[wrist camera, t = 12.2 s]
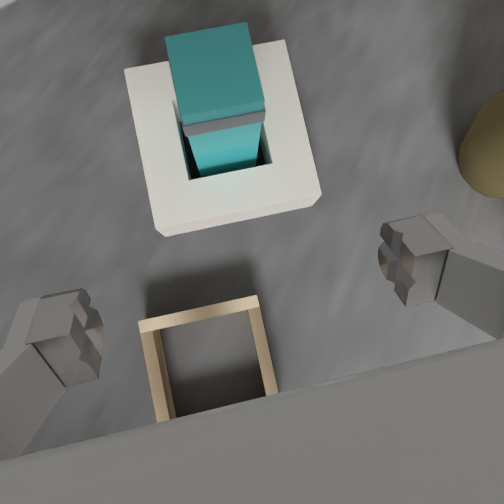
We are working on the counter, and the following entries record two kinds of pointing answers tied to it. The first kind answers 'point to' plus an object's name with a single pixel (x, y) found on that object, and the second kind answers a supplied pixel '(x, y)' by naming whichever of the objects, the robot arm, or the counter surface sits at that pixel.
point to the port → (231, 183)
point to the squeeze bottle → (485, 149)
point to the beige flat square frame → (152, 325)
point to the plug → (218, 96)
